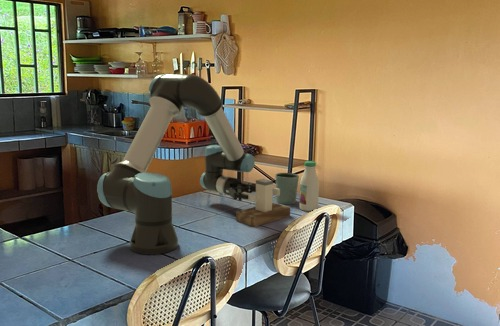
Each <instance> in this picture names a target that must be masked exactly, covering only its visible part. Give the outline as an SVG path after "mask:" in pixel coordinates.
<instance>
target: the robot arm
mask: <svg viewBox="0 0 500 326" xmlns="http://www.w3.org/2000/svg"><path fill="white" fill-rule="evenodd" d="M147 94H148V98H149V99H148V100H149V101H148V103H149V105H150V107H149V109H148V111H147V113H146V115H145V117H144V119H143V121H142V122H141V125H140V127H139V129H138V130H137V132H136V134H135V136H134V138H133V140H132V142H131V143H130V146H129V147H128V149H127V152H126V153H125V155H124V158H123V159H122V161H120V162H116V163H115V165H114V167H113V169H112V170H111V171H107V172H106V173H103V174H102V175H101V176H100V177H99V179H98V181H97V185H96V188H97V189H96V193H97V197H98V199H99V201H100V202H101V204H102V205H104V206H106V207H109V208H112V209H114V210H121V211H126V212H132V213H134V222H135V223H134V228H133V231H132V234H131V237H130V243H129V244H130V246H129V247H130V250H131V251H132V252H134V253H137V254H141V255H160V254H166V253H169V252H171V251H174V250H176V249H177V248H178V247H179V239H178V235H177V233H176V230H175V227H174V225H173V189H172V182H171V180H170V178H169V177H168V176H166V175H165V174H161V173H157V172H147V171H148V168H149V166H150V164H151V162H152V160H153V159H154V156H155V154H156V152H157V150H158V148H159V145H160V144H161V141H162V139H163V137H164V136H165V133H167V132H166V131H167V129H168V127H169V125H170V123H171V121H172V120H173V118H174V117H177V116H179V115H180V112H181V111H182V108H192V109H194V110H196V111H197V114H198V115H199V116H201V117H203V118H204V120H205V122H206V123H207V126H208V127H209V130H211V131H210V132H212V134H213V136H214V138H215V140H216V142H217V143H218V144H213V145H211V144H210V145H207V146H205V149H204V150H205V151H204V153H205V154H204V162H205V163H204V165H205V166H204V167H205V168H204V169H205V171H204V172H203V173H202V174H201V175H200V179H199V183H200V186H201V187H202V188H203V189H205V190H207V191H210V192H215V193H219V194H223V195H224V196H226V195H227V196H230V197H231V198H232V199H233V200H237V199H238V201H239V202H242V200H245V201H249V202H252V203H256V194H255V193H256V183H253V182H248V183H243V182H242V181H241V180H240V179H239V178H238V177H237V178H236V177H233V176H228V175H224V170H227V171H232V172H233V171H234V172H240V173H250V172H251V171H253V169H254V168H255V157H254V155H252V154H249V153H245V151H244V148H243V146H242V145H241V142H240V141H239V138H238V137H237V134H236V132H235V131H234V129H233V127H232V125H231V123H230V121H229V119H228V116H227V115H226V113H225V111H224V109H223V100H222V99H221V97H220V96H219V93H218V92H217V91H216V90H215V88H214V87H213V86H212V85H211V83H209V82H208V81H206V80H205V79H204V78H202V77H201V76H199V75H196V74H193V73H192V74H191V73H190V74H179V73H178V74H176V73H175V74H174V73H173V74H172V73H164V74H159V75H157V76H155V77H154V78H153V79H152V80H151V81H150V83H149V86H148V93H147ZM276 195H277V196H280V189H278V188H276V187H274V186H272V196H276Z"/></svg>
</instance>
